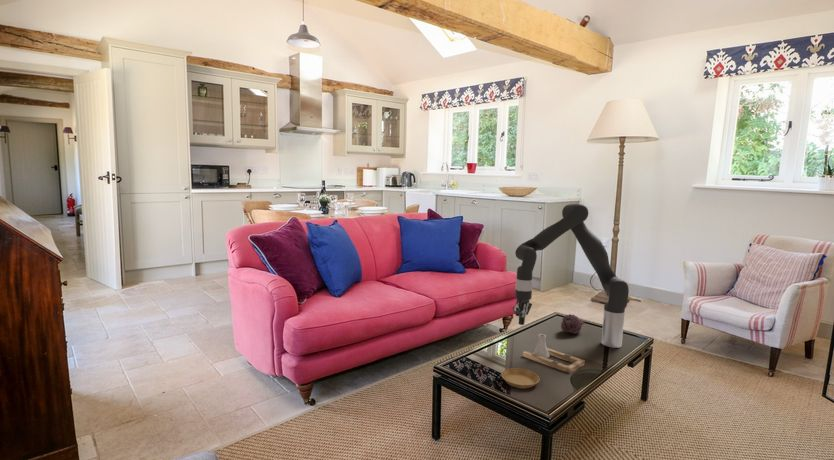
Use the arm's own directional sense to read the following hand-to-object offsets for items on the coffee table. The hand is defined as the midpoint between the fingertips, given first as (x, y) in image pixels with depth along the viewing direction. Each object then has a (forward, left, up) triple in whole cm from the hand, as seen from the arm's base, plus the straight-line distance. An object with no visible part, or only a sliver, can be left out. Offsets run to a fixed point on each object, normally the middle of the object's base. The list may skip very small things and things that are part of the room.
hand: (521, 324), depth 209 cm
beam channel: (0, +16, -12) cm, 20 cm away
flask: (0, +11, -12) cm, 17 cm away
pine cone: (-39, +5, -12) cm, 41 cm away
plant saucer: (+29, +19, -13) cm, 37 cm away
